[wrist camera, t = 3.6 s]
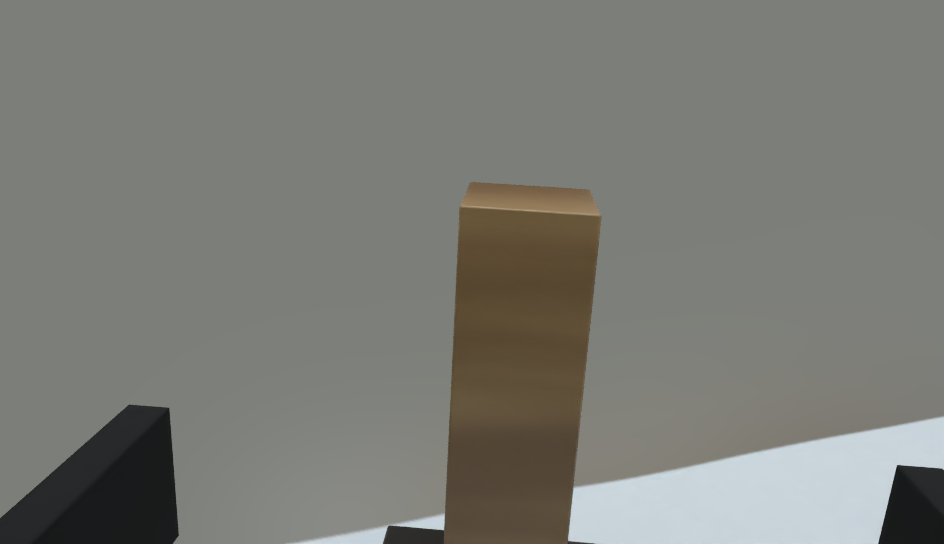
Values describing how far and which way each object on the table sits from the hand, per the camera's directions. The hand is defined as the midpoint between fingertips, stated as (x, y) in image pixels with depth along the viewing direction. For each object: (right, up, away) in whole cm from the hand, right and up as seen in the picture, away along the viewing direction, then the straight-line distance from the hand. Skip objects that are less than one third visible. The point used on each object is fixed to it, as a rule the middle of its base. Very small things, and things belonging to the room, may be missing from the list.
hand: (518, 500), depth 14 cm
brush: (0, -8, +11) cm, 14 cm away
